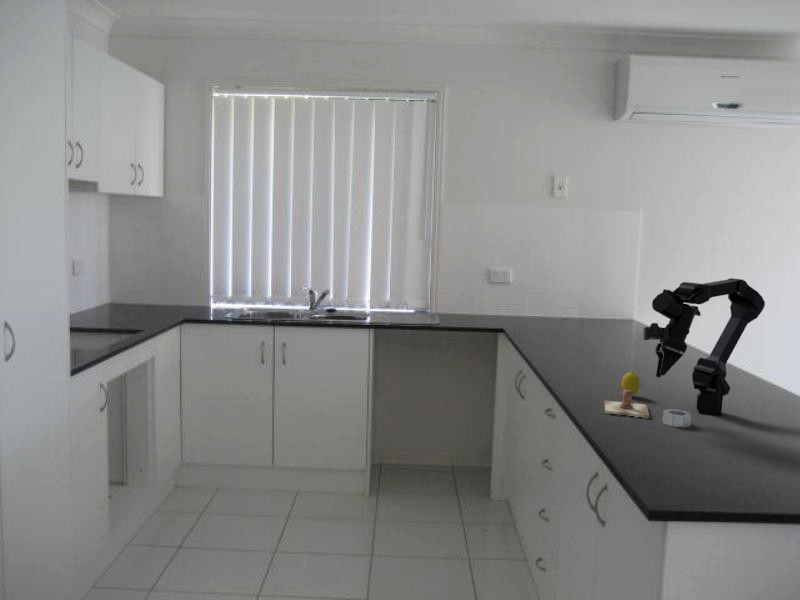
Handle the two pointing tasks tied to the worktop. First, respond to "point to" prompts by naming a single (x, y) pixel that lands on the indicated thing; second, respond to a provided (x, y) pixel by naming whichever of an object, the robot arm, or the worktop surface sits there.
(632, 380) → the lemon
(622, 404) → the post stand
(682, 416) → the ring
